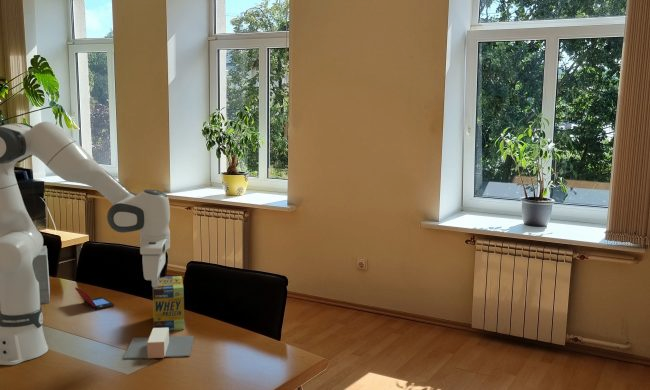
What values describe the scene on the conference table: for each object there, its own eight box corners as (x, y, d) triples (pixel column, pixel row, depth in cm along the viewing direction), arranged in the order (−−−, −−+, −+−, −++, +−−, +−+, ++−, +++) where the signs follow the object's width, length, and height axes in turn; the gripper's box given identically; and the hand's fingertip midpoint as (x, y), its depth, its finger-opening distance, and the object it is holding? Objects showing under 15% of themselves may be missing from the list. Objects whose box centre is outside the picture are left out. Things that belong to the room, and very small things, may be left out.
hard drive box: (29, 294, 245) (26, 246, 242) (49, 291, 248) (47, 245, 245) (28, 305, 231) (25, 255, 228) (50, 303, 234) (47, 253, 231)
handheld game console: (115, 307, 232) (114, 288, 230) (87, 313, 224) (86, 294, 223) (102, 299, 241) (101, 281, 240) (75, 304, 234) (74, 286, 232)
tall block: (147, 342, 183) (153, 328, 195) (147, 358, 184) (153, 342, 196) (163, 342, 184) (168, 327, 196) (164, 357, 184) (169, 341, 197)
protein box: (153, 332, 206) (152, 289, 204) (154, 317, 220) (152, 276, 218) (184, 330, 209) (183, 287, 206) (183, 315, 223) (182, 275, 221)
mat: (123, 359, 184) (123, 357, 184) (133, 339, 200) (133, 337, 199) (189, 356, 186) (189, 355, 186) (193, 337, 202) (193, 335, 202)
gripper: (150, 235, 193) (150, 276, 195) (138, 250, 172) (139, 296, 174) (170, 235, 193) (170, 276, 195) (161, 250, 173) (161, 296, 175)
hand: (155, 286), depth 185 cm, fingers closed
